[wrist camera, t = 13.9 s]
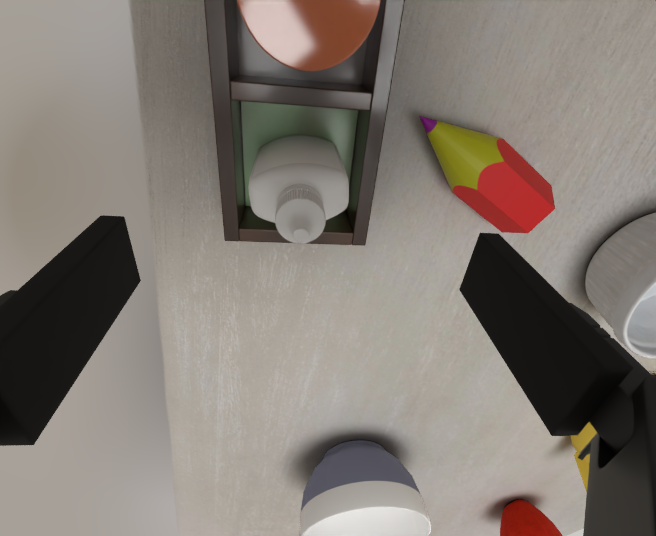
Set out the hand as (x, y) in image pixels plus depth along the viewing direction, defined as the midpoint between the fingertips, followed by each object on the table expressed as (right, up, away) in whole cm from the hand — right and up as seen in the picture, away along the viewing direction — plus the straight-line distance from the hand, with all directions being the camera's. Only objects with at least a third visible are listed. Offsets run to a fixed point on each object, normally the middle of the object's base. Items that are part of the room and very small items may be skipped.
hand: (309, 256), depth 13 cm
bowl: (+4, -27, +36) cm, 46 cm away
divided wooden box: (-1, +12, +10) cm, 16 cm away
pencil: (+11, +8, +14) cm, 20 cm away
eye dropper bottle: (-1, +8, +12) cm, 14 cm away
